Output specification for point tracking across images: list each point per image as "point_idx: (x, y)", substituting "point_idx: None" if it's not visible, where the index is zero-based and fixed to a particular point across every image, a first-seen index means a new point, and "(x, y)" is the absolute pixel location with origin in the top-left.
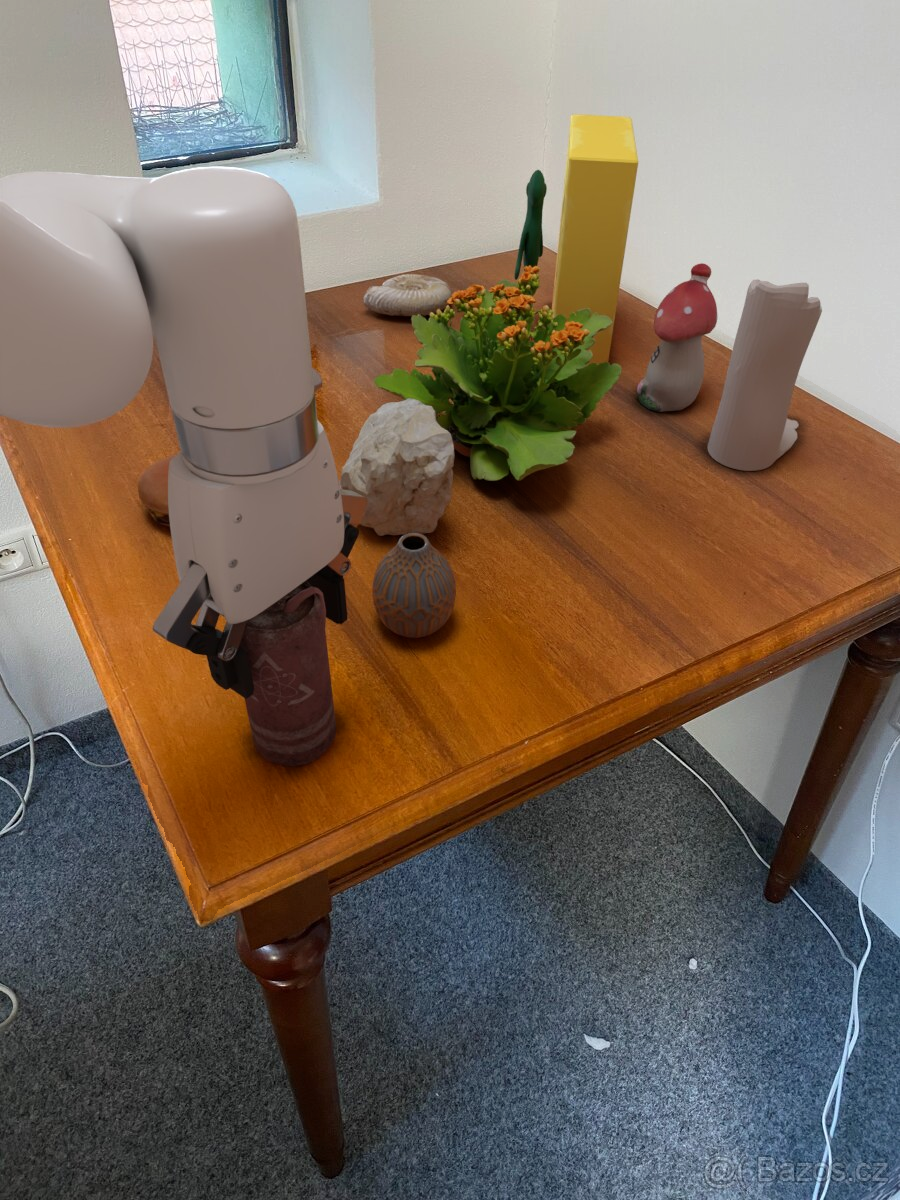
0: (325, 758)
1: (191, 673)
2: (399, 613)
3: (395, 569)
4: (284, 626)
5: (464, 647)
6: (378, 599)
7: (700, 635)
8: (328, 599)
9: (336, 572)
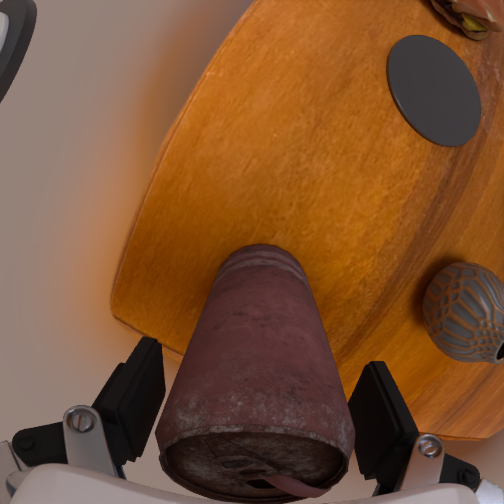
0: None
1: (273, 117)
2: (434, 328)
3: (477, 334)
4: (217, 488)
5: (425, 343)
6: (447, 301)
7: (450, 425)
8: (360, 430)
9: (375, 488)
